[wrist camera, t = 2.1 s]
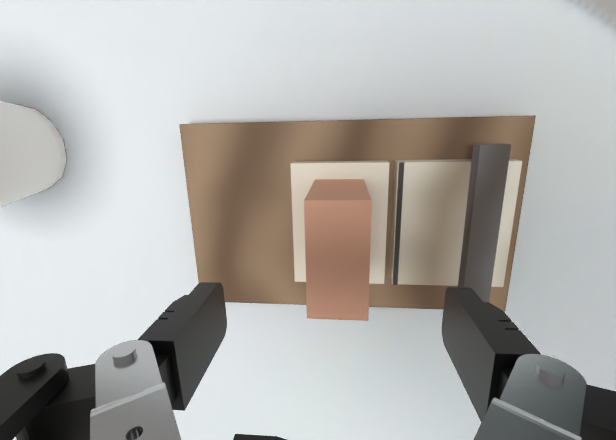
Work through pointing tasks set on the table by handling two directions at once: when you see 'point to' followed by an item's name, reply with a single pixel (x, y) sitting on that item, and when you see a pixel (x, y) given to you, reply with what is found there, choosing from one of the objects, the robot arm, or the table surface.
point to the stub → (339, 234)
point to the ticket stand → (400, 213)
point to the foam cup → (28, 153)
